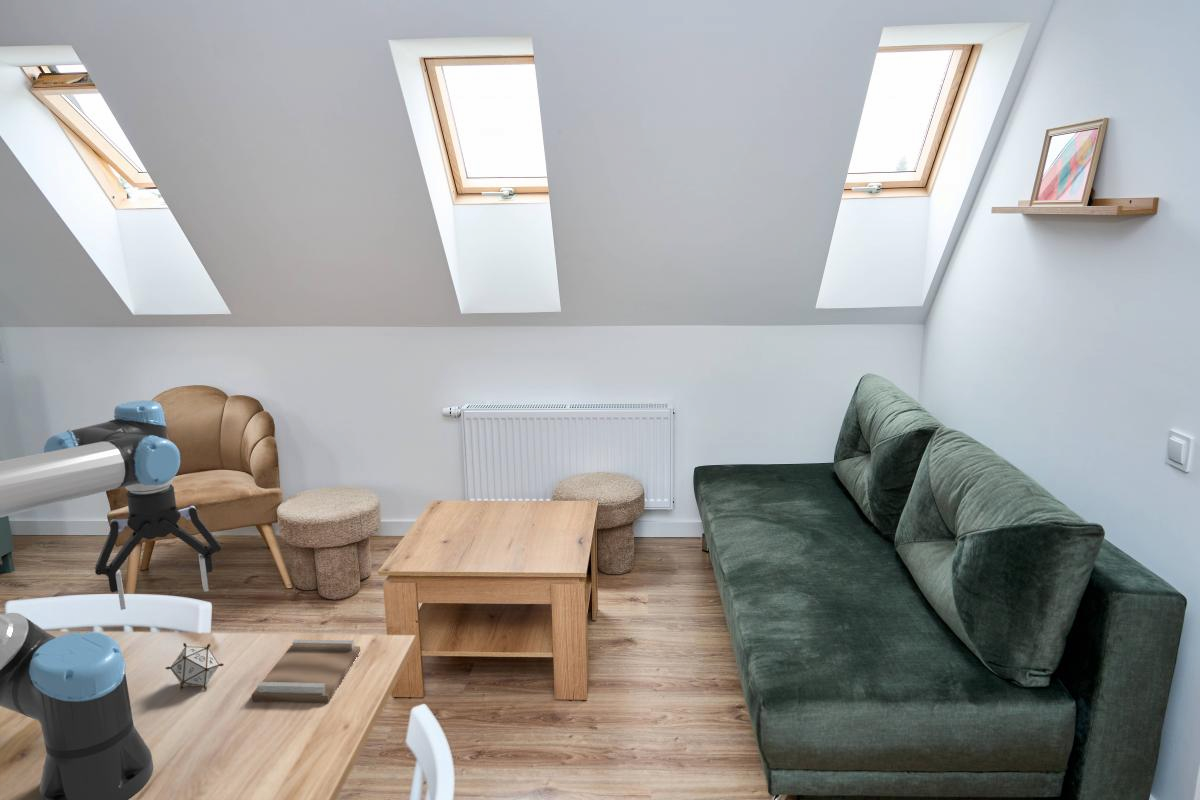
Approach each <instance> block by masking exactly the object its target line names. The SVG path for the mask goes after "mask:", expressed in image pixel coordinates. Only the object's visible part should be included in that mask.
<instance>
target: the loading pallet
mask: <svg viewBox="0 0 1200 800" xmlns="http://www.w3.org/2000/svg"><path fill="white" fill-rule="evenodd" d="M291 644H292V645H290V647H288V648H287V650H286V651H285V653H284V654H283V655H282V656H281V657H280V659H279V660H278V661H277V662H276V664H275V665H274V666H273V667H272V669H271V670H270V671H269V672H268V674H267V675H266V676H265V678H264V679H263V680H262V681H260V682H259V683H258V684H257V687H256V688H255V689H254V691H253V692H252V693H251V697H252V702H253V703H256V702H257V703H298V704H299V703H300V704H301V703H303V704H304V703H305V704H329V703H330V701H331V700H332V699H333V697H332V696H334V695H335V694H336V692H337V691H336V690H338V689H337V688H339V687H340V686H341V684H342V683H343V681H344V680H345V678H346V677H347V675H348V674H347V672H348V671H349V672H350V670H351V669H350V667H351V666H352V664H353V662H354V661H355V659H356V657H357V656H358V654H359V652H361V646H360V645H359V646H357V645H356V646H355V640H351V639H350V640H348V639H345V640H343V639H342V640H341V639H294V640H293V641H292V643H291ZM358 657H359V656H358ZM355 662H356V661H355ZM353 665H354V664H353ZM352 667H353V666H352ZM352 667H351V668H352ZM349 669H350V670H349ZM349 672H348V673H349ZM346 674H347V675H346ZM345 676H346V677H345ZM344 677H345V678H344ZM343 679H344V680H343ZM342 680H343V681H342ZM341 682H342V683H341ZM339 685H340V686H339ZM335 691H336V692H335ZM334 693H335V694H334ZM333 694H334V695H333ZM330 699H331V700H330Z"/></svg>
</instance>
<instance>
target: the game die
mask: <svg viewBox="0 0 1200 800" xmlns="http://www.w3.org/2000/svg"><path fill="white" fill-rule="evenodd" d="M183 647H184V648H183V649H182V651H181V652H180V653H179V654H178V656H177V658H176V659H175V661H173V663H172V664H171V666H166V667H165V669H166V670H171V671H172V673H173V675H174V676H175V677H176V678H177V680H178V682H179V685H180V686H179V690H181V689H184V687H202V688H203V690H204V691H207V690H208V687H207V686H206V685H207V684H208V683H209V681H210V680H211V679H212V677H213V675H214V674H215V673H216V671H217V669H218V668H219V667H223V666H224V665H225V664H224V663H219V662H218V660H217V658H216V656H215V655H214V654H213V653H212V651H211V650H210V647H211V643H208V644H207V646H187V643H185V642H183Z"/></svg>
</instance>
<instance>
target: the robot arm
mask: <svg viewBox="0 0 1200 800" xmlns="http://www.w3.org/2000/svg"><path fill="white" fill-rule="evenodd" d="M165 419H166V418H165V414H164V409H163V406H162V404H160V403H159V402H158V401H154V400H136V401H128V402H123V403H121V404H119V405H117V406H115V407H114V415H113V419H111V420H108V421H105V422H100V423H97V424H92V425H88V426H84V427H80V428H75V429H72V430H71V429H68V430H65V431H64V432H60V433H58V434H54V435H52V436H50V437H49V438H48V439H47V440H46V441H45V444H44V446H43V452H42V453H35V454H31V455H25V456H20V457H15V458H10V459H5V460H0V518H5V517H9V516H12V515H13V516H14V515H17V514H20V513H24V512H28V511H33V510H36V509H39V508H45V507H48V506H51V505H56V504H61V503H64V502H68V501H72V500H76V499H79V498H80V499H81V498H84V497H88V496H93V495H95V494H100V493H105V492H108V491H111V490H115V489H121V488H124V487H125V490H127V492H126V494H125V495H126V501H127V506H128V507H127V508H128V517H127V518H120V519H118V518H117V517H112V518H110V522H109V527H110V528H109V529H110V530H109V533H108V535H107V538H106V539H105V542H104V545H103V547H102V549H101V552H100V553H99V557H98V559H97V562H96V564H95V567H94V570H95V571H94V572H95V575H97V576H101V575H104V576H107V578H108V585H109V590H110V592H111V593H115V592H117V593H118V595H117V596H118V600H119V609H120V610H121V611H122V610H126V601H125V600H126V599H125V593H124V586H123V581H122V580H123V579H122V573H121V569H120V568H121V567H122V565H123V564H124V563H125V561H126V560H127V558H128V557H129V556H130V555H131V553H132V552H133V550H134V549H135V548H136V547H137V546H138V545H139V543H141V541H142V539H144V540H147V541H150V540H154V539H156V538H166V537H167V536H169V535H170V534H172V535H174V536H175V537H176V538H178V539H180V541H183V542H184V543H185V544H186V545H188V546H190V547H191V548H192V549H193V550H194V551H196V552H198V553H199V554H198V561H199V569H200V576H201V583H202V589H203V592H204V593H205V592H209V590H210V589H209V583H208V577H207V576H208V575H207V574H208V573H211V572H213V563H212V555H213V554H214V553H218V552H220V551H221V549H222V547H221V545H220V542H219V541H218V540H217V538H216V537H215V536H214V535H213V534H212V532H211V531H210V529H209V528H208V527H207V525H205V524H204V522H203V521H202V519H201V518H200V517H199V515H198V512H197V509H196V507H195V505H194V504H188V506H187V507H185V508H181V509H178V507H177V501H176V494H175V487H174V486H173V482H174V477H175V476H176V475H177V473H178V471H179V469H180V466H181V454H180V453H181V452H180V450H179V448H178V446H177V445H176V444H175V443H174V442H172V441H171V440H170V439H168V431H167V423H166V420H165ZM181 517H184V518H185V520H187V521H191V523H192V525H193V526H194V527H195V528H196V529H197V531H198V532H199V533H200V534H201V536H202V537H203V539H204V540H206V542H207V543H208V545H206V544H205V543H203V542H201V541H200V540H199V539H198V538H196V537H195V536H194V535H192V534H191V533H189V532H188V531H186V529H184V528H182V527H181V526H180V524H178V522H179V521H180V519H181ZM125 527H128V528H130V529H131V530H132V533H131V534H130V535H129V538H128V539H127V540H126V542H125V543H124V545H123V546H122V547H121V548H120V550H119V551H118V552H117V554H116V555H115V556H114V558H113V559H112V560H111V561H110V564H108V561H109V559H110V557H111V555H112V552H113V550H114V547H115V544H116V542H117V540H118V537H119V533H121V532H123V531H124V528H125ZM107 564H108V565H107ZM120 647H121V646H120V645H119V643H118V642H117V641H116V640H115V639H114V638H112V637H110V636H108V635H106V634H104V633H100V632H94V631H87V632H85V633H80V632H73V633H67V634H63V635H61V636H54V635H53V634H50V633H49V632H47V631H46V630H44V629H43V628H41V627H40V626H39V625H38V624H35V623H34V622H33V621H31V620H30V619H28V618H27V617H26V616H25V615H23V614H21V613H17V612H7V613H3V614H1V613H0V707H2V708H5V709H7V710H11V711H13V712H15V713H18V714H21V715H23V716H25V717H28V718H30V719H33V720H36V721H38V722H39V723H40V726H41V727H40V728H41V732H42V735H43V741H44V745H45V750H46V752H45V753H46V756H45V761H44V764H43V765H44V766H43V770H42V774H41V778H40V782H39V798H40V800H129V799H130V798H131V797H132V796H134V795H135V794H137V793H138V792H140V790H141V789H143V788H144V786H146V784H147V783H148V782H149V780H150V779H151V777H152V775H153V772H154V763H153V756H152V752H151V750H150V749H149V746H148V745H147V743H146V742H145V741H144V739H143V738H142V735H141V734H140V733H139V731H138V730H137V729H136V727H135V725H134V720H133V712H132V706H131V700H130V694H129V693H130V692H129V688H128V681H127V675H126V661H125V659H124V656H123V654H122V650H121V648H120Z"/></svg>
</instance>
